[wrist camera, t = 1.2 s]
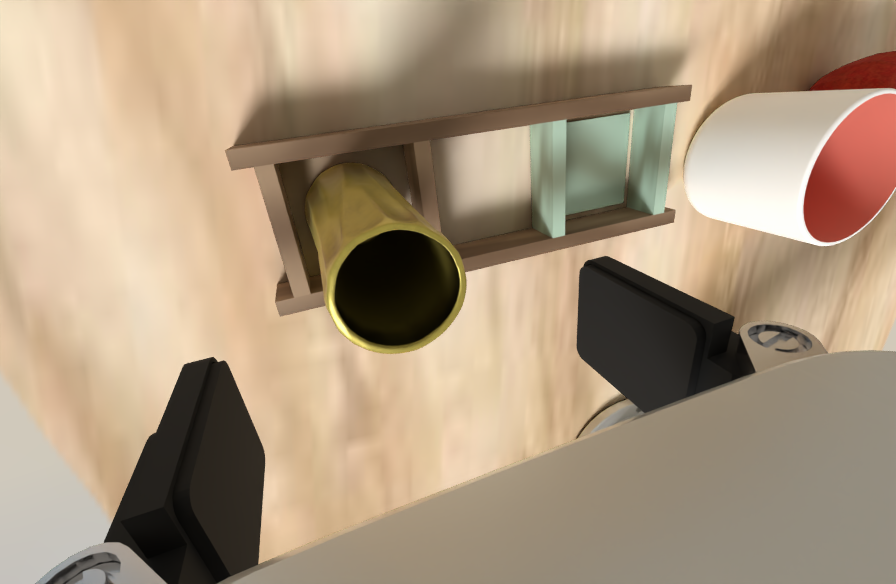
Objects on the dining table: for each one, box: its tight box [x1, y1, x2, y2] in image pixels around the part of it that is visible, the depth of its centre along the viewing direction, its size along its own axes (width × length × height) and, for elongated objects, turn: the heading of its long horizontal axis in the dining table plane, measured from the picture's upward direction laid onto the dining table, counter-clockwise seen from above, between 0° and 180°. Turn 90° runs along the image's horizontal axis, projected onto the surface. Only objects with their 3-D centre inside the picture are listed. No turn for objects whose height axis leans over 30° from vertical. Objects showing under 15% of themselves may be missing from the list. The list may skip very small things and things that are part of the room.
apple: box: [809, 51, 896, 91], centre depth 33 cm, size 8×8×8 cm
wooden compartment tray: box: [225, 85, 692, 316], centre depth 28 cm, size 10×30×3 cm, turn 95°
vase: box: [305, 163, 467, 354], centre depth 21 cm, size 6×6×14 cm
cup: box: [683, 88, 896, 246], centre depth 31 cm, size 10×10×10 cm
